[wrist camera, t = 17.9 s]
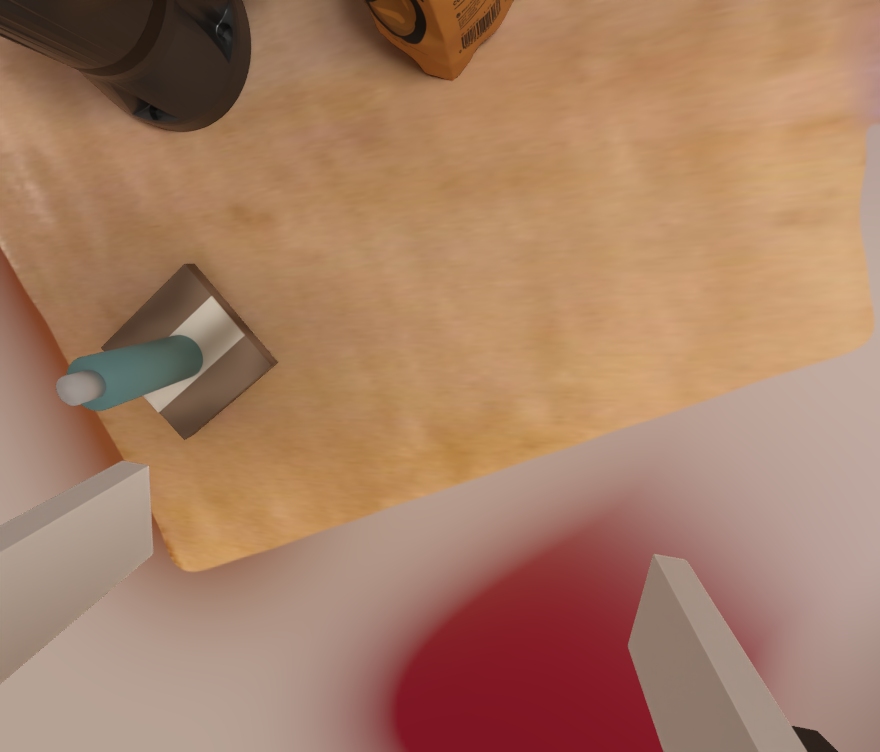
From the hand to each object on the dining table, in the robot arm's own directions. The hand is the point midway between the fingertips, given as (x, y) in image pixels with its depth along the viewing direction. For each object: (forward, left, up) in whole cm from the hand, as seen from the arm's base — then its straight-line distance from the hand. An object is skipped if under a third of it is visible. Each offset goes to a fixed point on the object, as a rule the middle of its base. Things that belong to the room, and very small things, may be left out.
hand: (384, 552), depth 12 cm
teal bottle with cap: (-17, -25, -33) cm, 45 cm away
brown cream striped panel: (-17, -25, -35) cm, 46 cm away
